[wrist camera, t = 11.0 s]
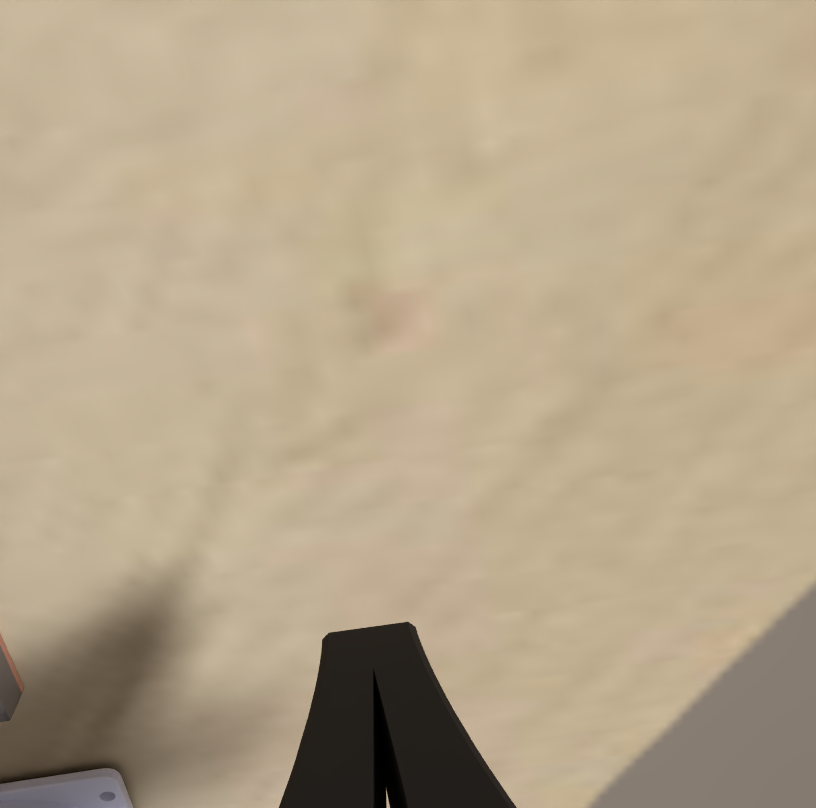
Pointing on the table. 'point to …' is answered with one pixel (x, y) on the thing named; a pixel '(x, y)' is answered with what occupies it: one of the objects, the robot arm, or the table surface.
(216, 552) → the table surface
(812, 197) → the table surface
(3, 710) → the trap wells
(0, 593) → the table surface
